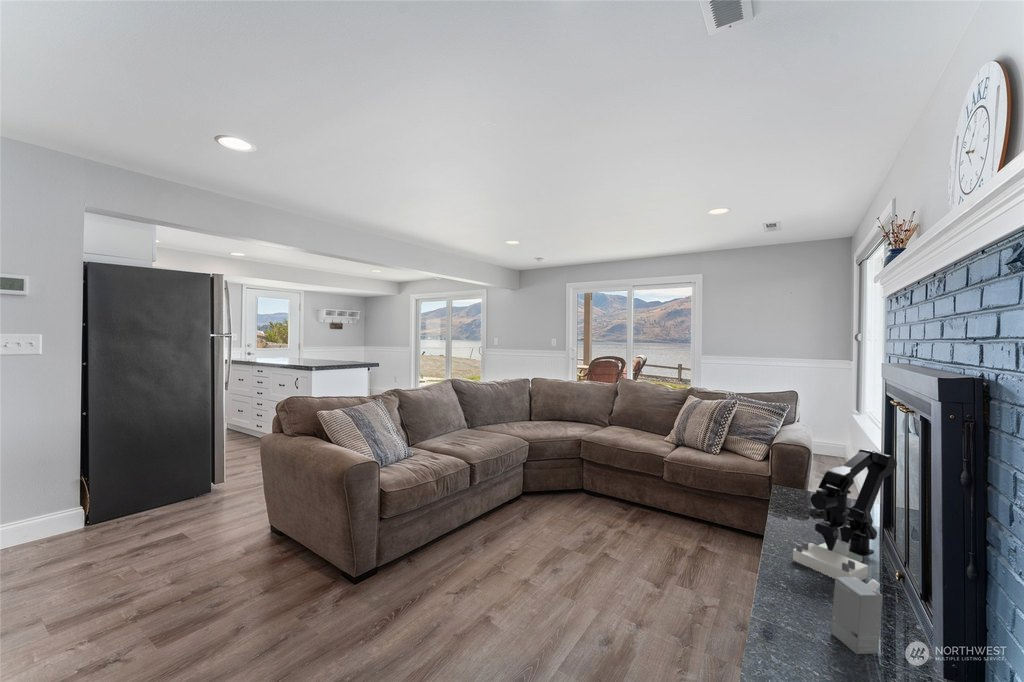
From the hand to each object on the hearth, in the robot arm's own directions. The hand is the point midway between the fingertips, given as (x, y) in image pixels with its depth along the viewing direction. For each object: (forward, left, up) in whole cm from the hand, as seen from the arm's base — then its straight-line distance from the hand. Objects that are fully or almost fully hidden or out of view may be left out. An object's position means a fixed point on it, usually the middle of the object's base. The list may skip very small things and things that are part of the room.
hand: (837, 548), depth 160 cm
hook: (+30, +21, -3) cm, 37 cm away
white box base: (+12, +3, -3) cm, 13 cm away
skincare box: (+47, +27, -3) cm, 54 cm away
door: (-1, 0, -3) cm, 3 cm away
